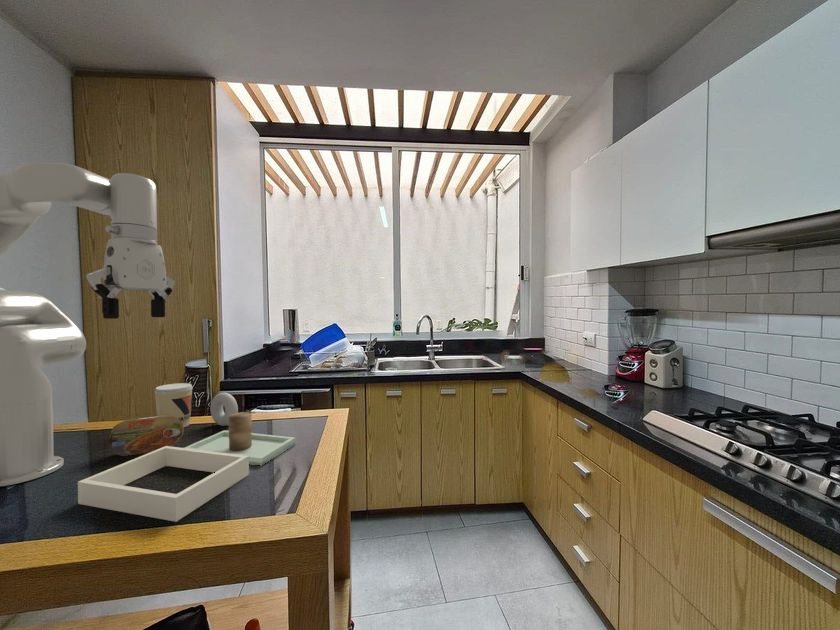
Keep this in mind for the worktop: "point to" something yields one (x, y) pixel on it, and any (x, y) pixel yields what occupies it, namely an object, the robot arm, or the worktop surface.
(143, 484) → the worktop surface
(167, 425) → the tin
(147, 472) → the white rectangular frame
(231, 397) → the donut
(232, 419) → the wooden cylinder
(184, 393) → the coffee cup
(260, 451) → the tray
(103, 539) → the worktop surface
